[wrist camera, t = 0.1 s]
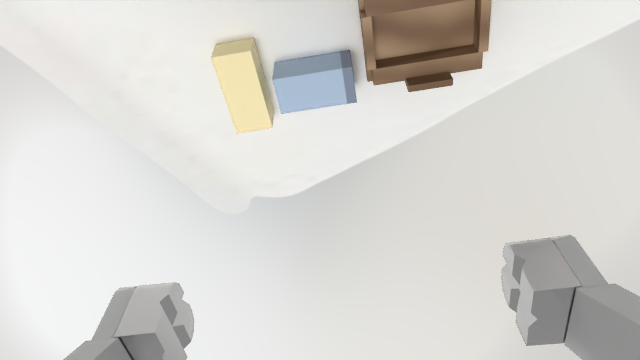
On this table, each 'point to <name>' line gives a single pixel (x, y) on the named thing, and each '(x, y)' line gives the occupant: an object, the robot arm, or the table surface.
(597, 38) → the table surface
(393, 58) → the frame
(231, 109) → the pale yellow block
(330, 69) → the blue-grey block
